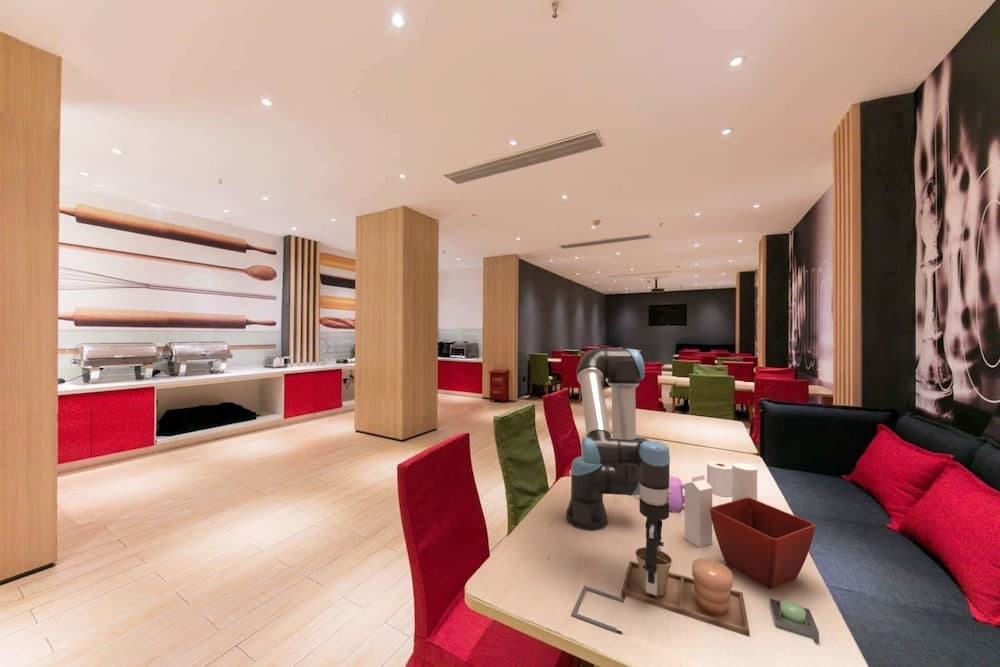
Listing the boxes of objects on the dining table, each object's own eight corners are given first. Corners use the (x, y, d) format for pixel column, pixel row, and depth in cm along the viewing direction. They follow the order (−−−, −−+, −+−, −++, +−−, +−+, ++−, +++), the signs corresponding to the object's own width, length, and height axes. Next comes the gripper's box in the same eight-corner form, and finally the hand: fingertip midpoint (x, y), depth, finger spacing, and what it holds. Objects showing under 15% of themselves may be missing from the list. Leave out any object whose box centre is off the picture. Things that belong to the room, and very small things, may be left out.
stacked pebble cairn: (691, 609, 92) (691, 573, 93) (692, 588, 100) (692, 554, 100) (734, 623, 88) (734, 585, 88) (730, 599, 96) (731, 564, 96)
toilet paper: (710, 495, 161) (710, 467, 161) (704, 485, 171) (704, 459, 171) (736, 498, 158) (737, 470, 158) (729, 488, 168) (729, 462, 168)
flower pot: (655, 603, 93) (656, 567, 94) (627, 583, 101) (627, 550, 102) (680, 595, 97) (680, 560, 98) (650, 576, 106) (651, 544, 106)
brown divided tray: (621, 597, 98) (621, 590, 98) (629, 566, 111) (629, 560, 111) (749, 639, 84) (749, 631, 84) (742, 599, 97) (742, 592, 97)
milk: (712, 544, 123) (713, 478, 123) (699, 548, 121) (700, 481, 121) (696, 534, 129) (697, 471, 129) (683, 538, 126) (684, 474, 126)
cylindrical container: (761, 546, 122) (761, 471, 122) (737, 543, 123) (737, 469, 124) (751, 535, 129) (751, 463, 129) (728, 532, 130) (728, 462, 131)
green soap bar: (782, 624, 88) (782, 610, 88) (778, 610, 92) (778, 597, 92) (808, 631, 86) (808, 617, 86) (802, 617, 90) (802, 604, 90)
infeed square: (571, 615, 91) (571, 614, 91) (584, 586, 102) (584, 585, 102) (621, 634, 86) (621, 633, 86) (629, 601, 96) (629, 600, 96)
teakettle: (696, 511, 146) (696, 480, 146) (658, 516, 142) (658, 484, 142) (666, 493, 163) (667, 465, 163) (632, 497, 159) (633, 468, 159)
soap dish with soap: (775, 629, 87) (775, 619, 87) (769, 607, 94) (769, 598, 94) (818, 643, 84) (819, 632, 84) (809, 619, 91) (809, 609, 91)
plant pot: (774, 603, 96) (775, 538, 96) (707, 562, 113) (708, 507, 113) (816, 584, 104) (817, 524, 104) (747, 548, 121) (748, 496, 121)
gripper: (666, 522, 89) (665, 613, 89) (671, 487, 109) (671, 561, 109) (633, 514, 93) (632, 602, 93) (644, 482, 113) (644, 554, 113)
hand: (653, 580), depth 101 cm, fingers open, 10 cm apart
